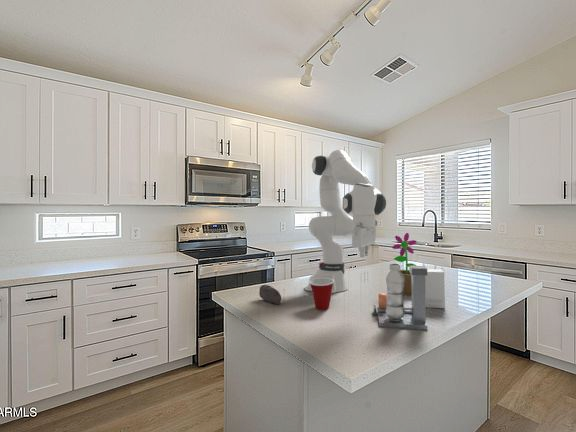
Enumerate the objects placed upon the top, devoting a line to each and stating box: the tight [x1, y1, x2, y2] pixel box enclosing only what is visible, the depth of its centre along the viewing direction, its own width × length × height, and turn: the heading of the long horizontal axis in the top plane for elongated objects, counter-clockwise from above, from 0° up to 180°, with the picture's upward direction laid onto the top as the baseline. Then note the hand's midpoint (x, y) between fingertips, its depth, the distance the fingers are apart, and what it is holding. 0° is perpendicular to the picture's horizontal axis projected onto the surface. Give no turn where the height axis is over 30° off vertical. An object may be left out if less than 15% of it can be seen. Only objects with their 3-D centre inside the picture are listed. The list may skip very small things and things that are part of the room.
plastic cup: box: [308, 278, 334, 311], centre depth 131 cm, size 11×11×12 cm
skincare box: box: [425, 268, 446, 309], centre depth 132 cm, size 8×7×16 cm
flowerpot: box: [391, 232, 418, 296], centre depth 154 cm, size 14×14×30 cm
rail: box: [373, 304, 412, 317], centre depth 121 cm, size 19×5×3 cm, turn 76°
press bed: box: [377, 265, 428, 331], centre depth 113 cm, size 17×11×21 cm, turn 76°
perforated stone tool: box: [258, 284, 282, 305], centre depth 141 cm, size 15×5×7 cm, turn 35°
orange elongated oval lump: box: [376, 292, 388, 310], centre depth 122 cm, size 4×3×7 cm
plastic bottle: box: [385, 263, 405, 319], centre depth 112 cm, size 6×7×20 cm
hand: (364, 256), depth 124 cm, fingers open, 3 cm apart
